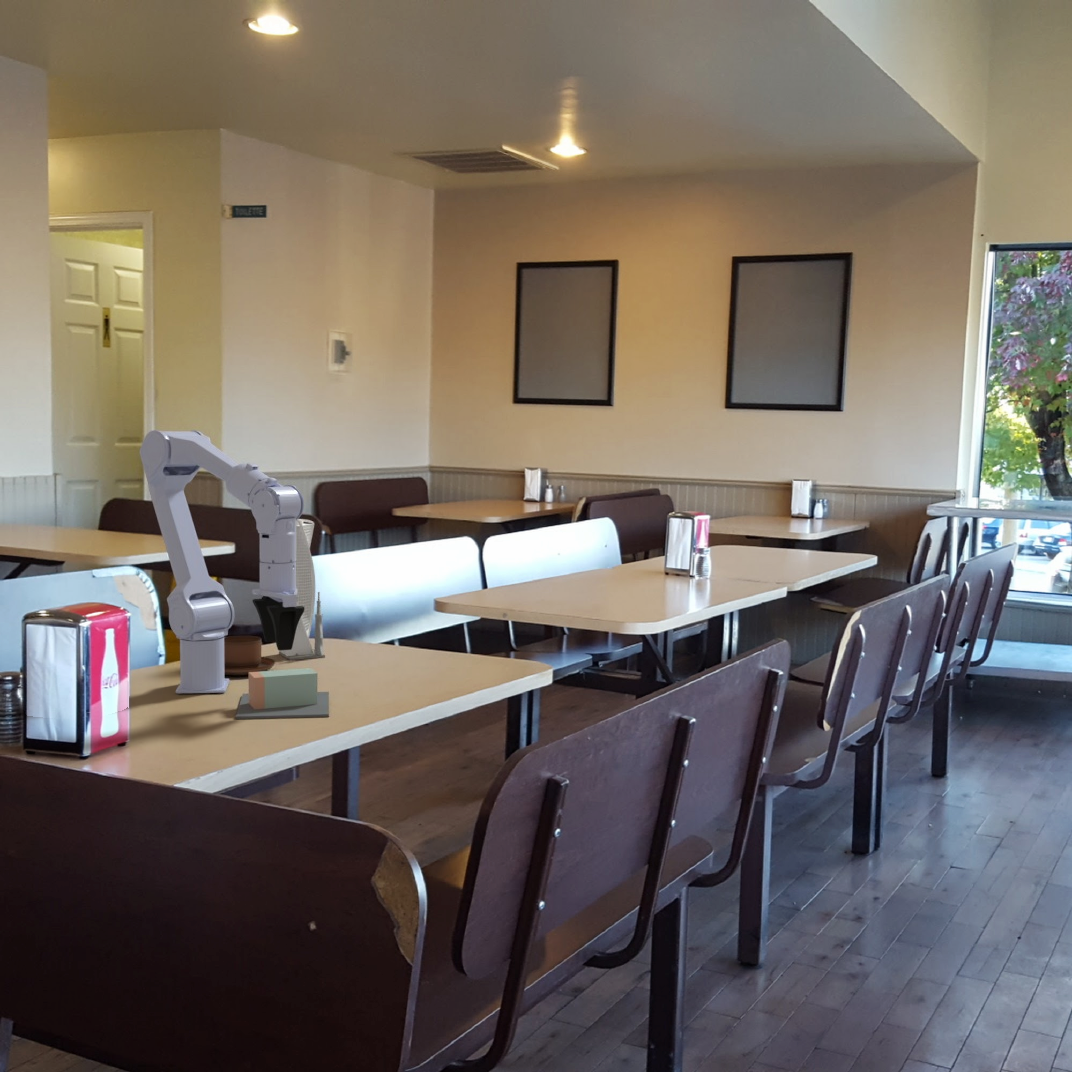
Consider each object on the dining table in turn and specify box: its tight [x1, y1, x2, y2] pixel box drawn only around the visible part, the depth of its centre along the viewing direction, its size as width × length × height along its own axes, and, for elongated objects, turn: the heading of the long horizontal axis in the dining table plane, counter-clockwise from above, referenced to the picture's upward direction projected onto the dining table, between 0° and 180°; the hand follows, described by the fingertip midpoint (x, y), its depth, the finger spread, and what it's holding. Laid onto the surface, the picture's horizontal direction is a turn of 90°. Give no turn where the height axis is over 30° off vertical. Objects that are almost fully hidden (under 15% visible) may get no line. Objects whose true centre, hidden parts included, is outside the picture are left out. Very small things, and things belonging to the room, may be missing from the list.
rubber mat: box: [235, 691, 330, 720], centre depth 195 cm, size 16×14×1 cm
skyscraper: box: [278, 518, 326, 661], centre depth 236 cm, size 8×8×28 cm
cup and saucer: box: [224, 635, 276, 676], centre depth 221 cm, size 12×12×6 cm
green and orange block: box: [248, 667, 318, 709], centre depth 195 cm, size 10×4×5 cm, turn 115°
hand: (278, 645), depth 196 cm, fingers open, 7 cm apart
